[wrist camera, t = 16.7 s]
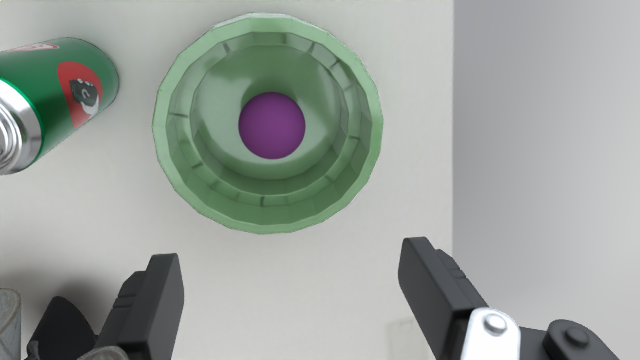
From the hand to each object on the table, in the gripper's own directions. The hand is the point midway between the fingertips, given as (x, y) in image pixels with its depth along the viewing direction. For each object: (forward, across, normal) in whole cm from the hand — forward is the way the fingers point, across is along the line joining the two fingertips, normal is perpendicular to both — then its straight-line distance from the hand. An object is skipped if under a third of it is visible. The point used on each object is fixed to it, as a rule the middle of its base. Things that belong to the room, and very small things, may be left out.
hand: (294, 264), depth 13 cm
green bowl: (+18, 0, 0) cm, 18 cm away
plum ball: (+15, 0, 0) cm, 15 cm away
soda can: (+18, +13, -3) cm, 23 cm away
